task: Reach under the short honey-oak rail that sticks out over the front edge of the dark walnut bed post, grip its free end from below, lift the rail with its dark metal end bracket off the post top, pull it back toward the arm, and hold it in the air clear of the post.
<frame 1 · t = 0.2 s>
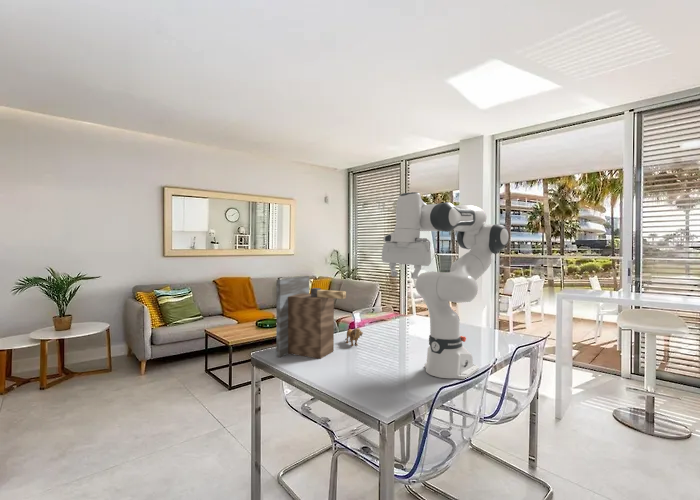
hand: (403, 277, 130), 38 cm above the table, tool pointing down, fingers open, 8 cm apart
bed rail: (328, 297, 167), point 26 cm above the table, touching headboard post
lion figurine: (353, 344, 186), on the table
headboard post: (311, 352, 171), on the table
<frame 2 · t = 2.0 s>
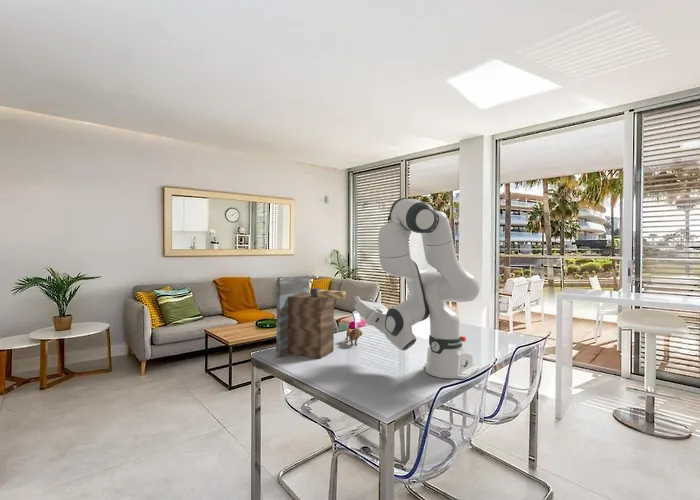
hand: (362, 298, 160), 27 cm above the table, tool pointing upward, fingers open, 8 cm apart
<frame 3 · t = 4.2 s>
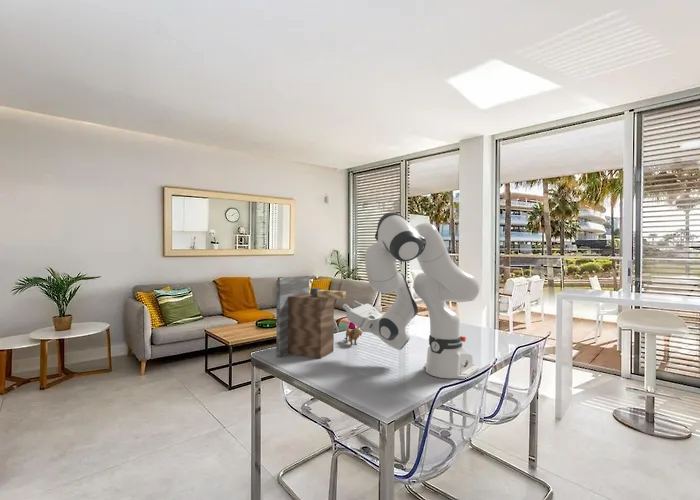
hand: (348, 303, 162), 24 cm above the table, tool pointing upward, fingers open, 8 cm apart
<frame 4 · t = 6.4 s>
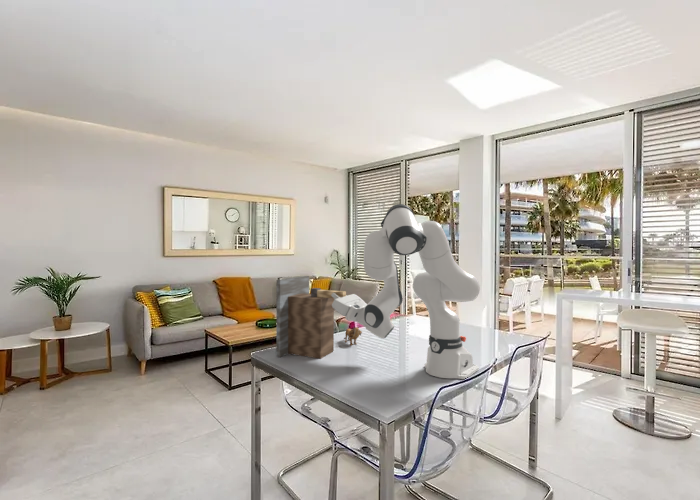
hand: (334, 293, 165), 28 cm above the table, tool pointing upward, fingers closed on bed rail, 3 cm apart
bed rail: (328, 297, 167), point 26 cm above the table, touching gripper, headboard post
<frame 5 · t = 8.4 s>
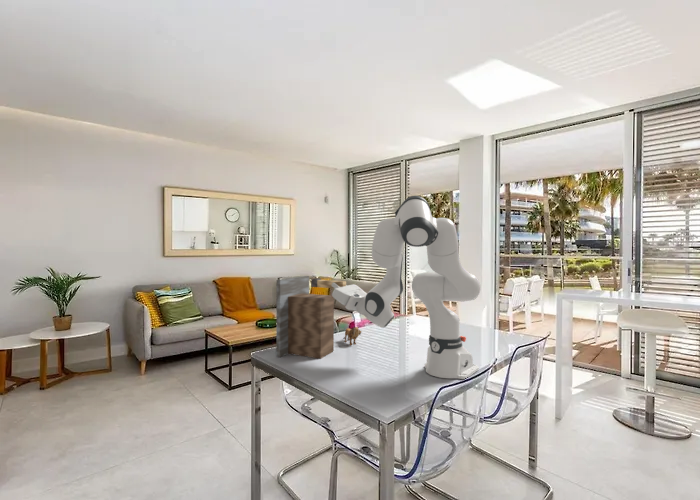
hand: (335, 283, 165), 32 cm above the table, tool pointing upward, fingers closed on bed rail, 3 cm apart
bed rail: (328, 287, 167), point 30 cm above the table, touching gripper
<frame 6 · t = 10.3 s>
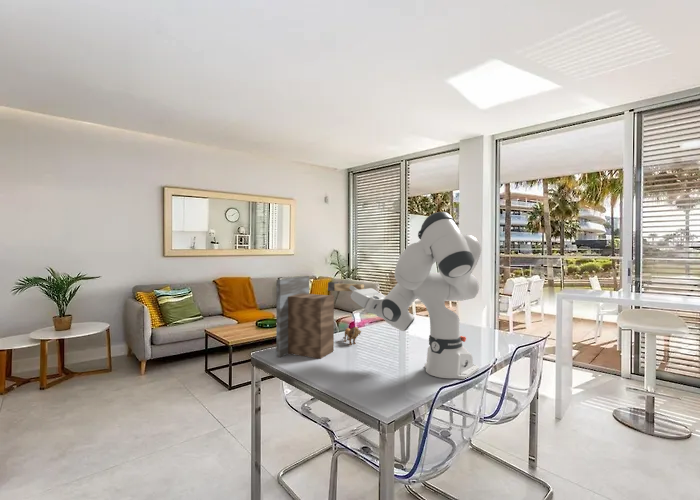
hand: (352, 286, 162), 31 cm above the table, tool pointing upward, fingers closed on bed rail, 3 cm apart
bed rail: (346, 290, 163), point 29 cm above the table, touching gripper
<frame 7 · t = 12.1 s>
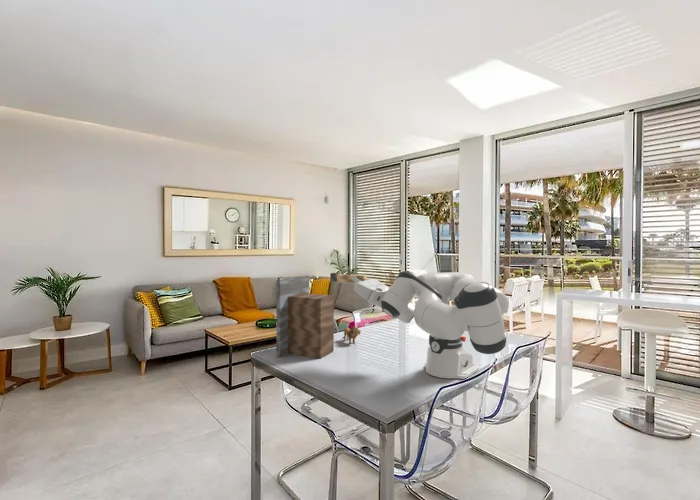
hand: (355, 277, 161), 35 cm above the table, tool pointing upward, fingers closed on bed rail, 3 cm apart
bed rail: (348, 281, 162), point 33 cm above the table, touching gripper
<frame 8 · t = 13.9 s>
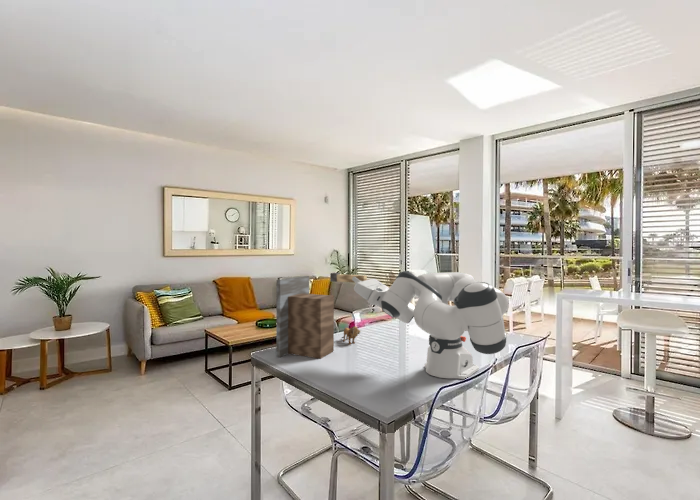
hand: (355, 277, 161), 35 cm above the table, tool pointing upward, fingers closed on bed rail, 3 cm apart
bed rail: (348, 281, 162), point 33 cm above the table, touching gripper
at the end: the gripper is holding bed rail; bed rail touching gripper; bed rail moved 12.4 cm from its start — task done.
